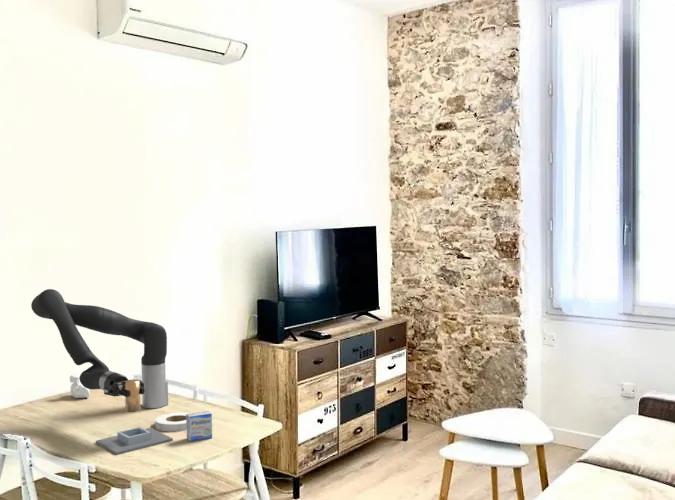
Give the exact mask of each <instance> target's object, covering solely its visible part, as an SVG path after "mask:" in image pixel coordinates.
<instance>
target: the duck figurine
mask: <svg viewBox="0 0 675 500" xmlns="http://www.w3.org/2000/svg"><path fill="white" fill-rule="evenodd" d="M69 382H70V383H71V385H70V391H69V392H70V394H71V396H72V397H73V398H75V399H82V398H83V399H86V398H89V397H90V395H91V390H90V389H87V388H86V387H84V386H83V385H82V384H81V382H80V375H79V374H77V373H73V374H72V375H70V376H69Z"/></svg>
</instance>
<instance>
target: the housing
mask: <svg viewBox="0 0 675 500" xmlns="http://www.w3.org/2000/svg"><path fill="white" fill-rule="evenodd" d="M116 433H117V434H116V435H114V436H110V437H107V438H101V439H97V440H95V443H96V445H99V446H100V447H102V448H104V449H106V450H107V451H109V452H111V453H113V454H114V455H116V456H118V455H122V454H125V453H130V452H133V451H137V450H142V449H145V448H146V449H147V448H149V447H153V446H157V445H161V444H165V443H169V442H173V441H174V439H173V438H172V437H170V436H169V435H167V434H165V433H162V432H160V431H158V430H156V429H153V428H152V427H148V428H143V427H142V426H138V427H135V428H129V429H124V430H121V431H117V432H116Z"/></svg>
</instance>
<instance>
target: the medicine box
mask: <svg viewBox="0 0 675 500" xmlns="http://www.w3.org/2000/svg"><path fill="white" fill-rule="evenodd" d="M189 413H190V414H186V426H187V430H186V439H187V440H188V441H189V442H197V441H202V440H208V439H212V438H213V416H212V415H213V414H212V413H211V412H210V411H209V410H207V411H206V410H205V411H198V412H189Z"/></svg>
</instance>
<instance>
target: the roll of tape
mask: <svg viewBox="0 0 675 500" xmlns="http://www.w3.org/2000/svg"><path fill="white" fill-rule="evenodd" d="M190 413H191V412H173V413H172V412H171V413H166V414H162V415H159V416H157V417H156V418H155V420H154V423H155V429H157V431H158V430H159V431H163V432H181V431H187V426H186V414H190Z"/></svg>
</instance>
